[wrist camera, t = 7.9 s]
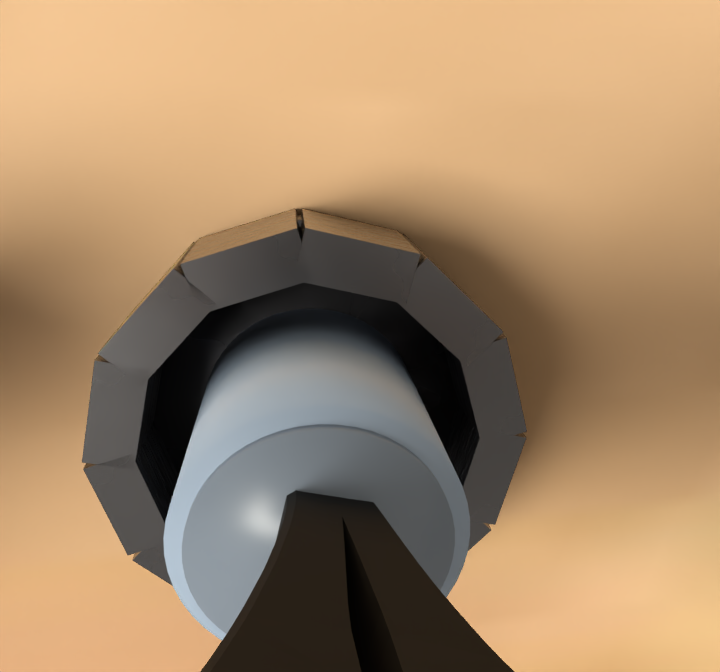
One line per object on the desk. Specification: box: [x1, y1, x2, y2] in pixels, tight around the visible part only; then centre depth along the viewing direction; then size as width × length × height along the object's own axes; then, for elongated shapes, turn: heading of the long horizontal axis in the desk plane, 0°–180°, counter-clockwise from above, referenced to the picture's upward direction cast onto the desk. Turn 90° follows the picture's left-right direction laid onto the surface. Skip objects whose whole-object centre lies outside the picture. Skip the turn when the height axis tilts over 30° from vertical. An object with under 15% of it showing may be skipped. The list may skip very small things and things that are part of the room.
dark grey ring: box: [82, 209, 527, 586], centre depth 14 cm, size 9×9×3 cm
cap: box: [163, 309, 470, 640], centre depth 12 cm, size 5×5×5 cm
